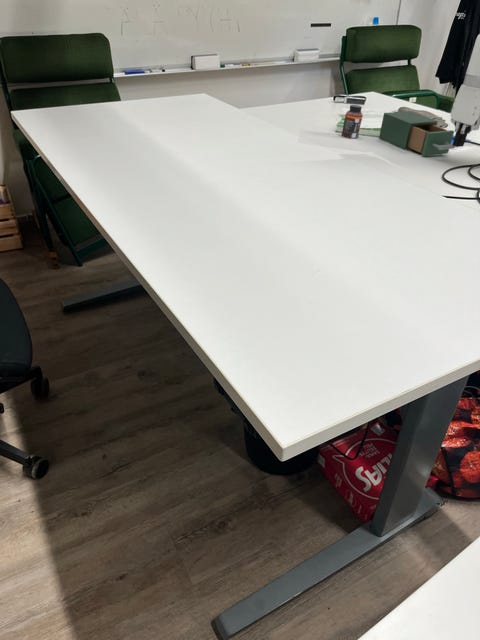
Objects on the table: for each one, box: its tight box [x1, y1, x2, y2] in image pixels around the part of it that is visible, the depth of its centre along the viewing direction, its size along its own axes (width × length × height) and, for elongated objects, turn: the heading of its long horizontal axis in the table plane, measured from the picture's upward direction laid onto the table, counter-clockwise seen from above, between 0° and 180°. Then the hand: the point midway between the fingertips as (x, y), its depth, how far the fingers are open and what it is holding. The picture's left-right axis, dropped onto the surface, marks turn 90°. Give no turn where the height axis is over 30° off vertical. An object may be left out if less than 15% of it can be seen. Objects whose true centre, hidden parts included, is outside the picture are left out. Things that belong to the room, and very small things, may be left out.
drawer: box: [407, 124, 456, 157], centre depth 161 cm, size 18×10×7 cm, turn 23°
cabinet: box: [378, 110, 439, 151], centre depth 170 cm, size 15×12×9 cm
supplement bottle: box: [341, 104, 363, 140], centre depth 171 cm, size 6×6×11 cm
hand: (457, 145), depth 151 cm, fingers closed
